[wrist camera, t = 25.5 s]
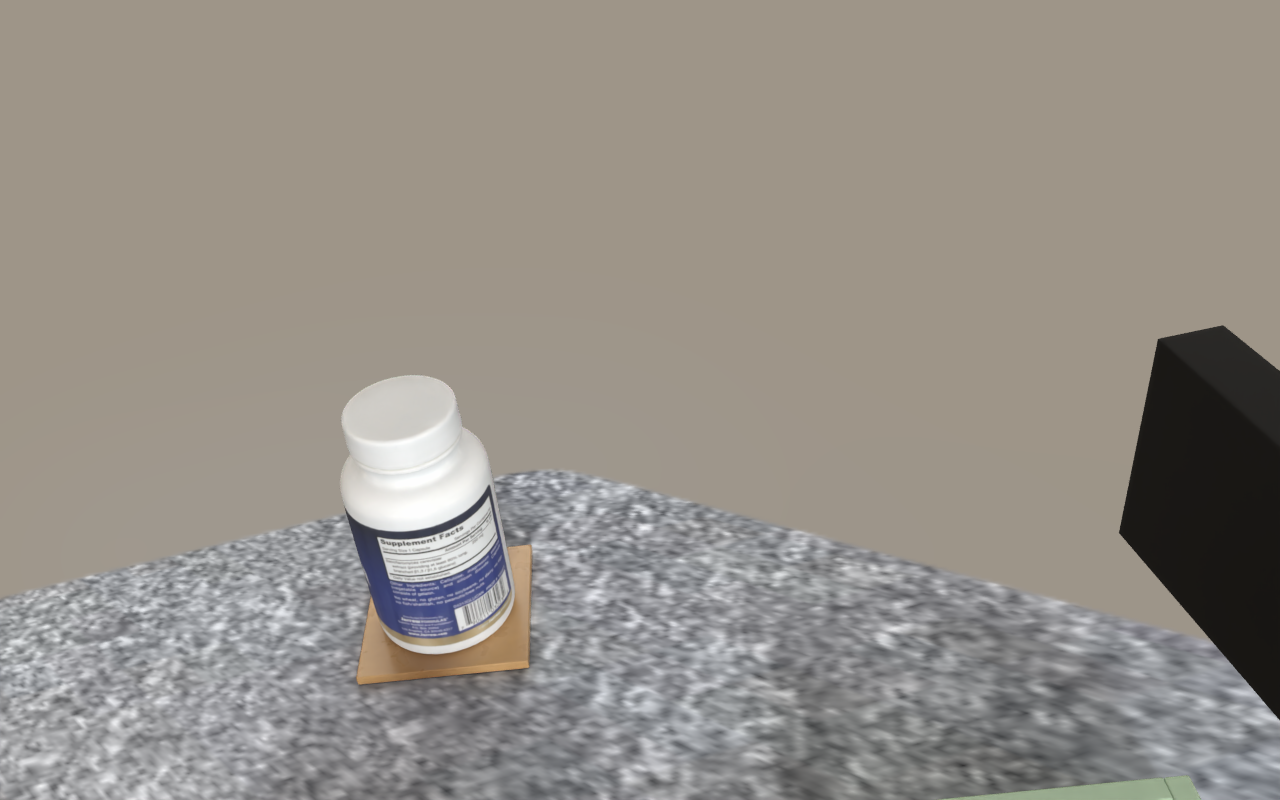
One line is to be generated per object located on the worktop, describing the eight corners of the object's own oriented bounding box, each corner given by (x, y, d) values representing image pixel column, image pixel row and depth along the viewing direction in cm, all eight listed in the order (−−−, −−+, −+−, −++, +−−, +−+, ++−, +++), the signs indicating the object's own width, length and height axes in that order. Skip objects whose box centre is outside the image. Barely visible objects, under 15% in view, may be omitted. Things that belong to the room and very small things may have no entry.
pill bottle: (384, 568, 49) (329, 372, 43) (515, 552, 49) (477, 353, 43) (373, 668, 45) (310, 464, 39) (517, 649, 45) (475, 443, 39)
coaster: (532, 551, 50) (531, 544, 49) (529, 668, 44) (527, 660, 44) (379, 566, 50) (377, 559, 49) (358, 685, 44) (355, 677, 44)
